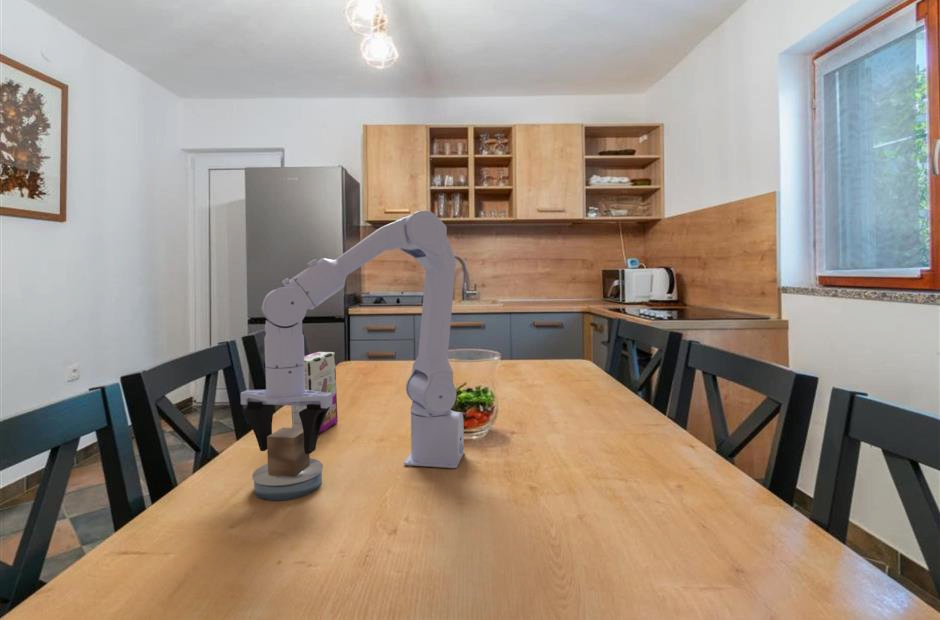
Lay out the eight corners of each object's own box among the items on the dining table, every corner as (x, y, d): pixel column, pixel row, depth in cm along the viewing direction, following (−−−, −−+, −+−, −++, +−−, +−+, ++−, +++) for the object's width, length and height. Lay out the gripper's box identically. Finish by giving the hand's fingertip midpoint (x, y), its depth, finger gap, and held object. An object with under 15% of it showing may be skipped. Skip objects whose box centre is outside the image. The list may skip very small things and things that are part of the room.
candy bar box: (318, 421, 108) (316, 351, 107) (338, 423, 107) (336, 351, 106) (290, 438, 97) (288, 359, 96) (312, 439, 96) (310, 360, 95)
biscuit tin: (334, 476, 79) (333, 459, 78) (303, 506, 68) (302, 486, 68) (277, 473, 80) (276, 456, 80) (238, 501, 70) (237, 482, 70)
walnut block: (309, 464, 76) (308, 428, 76) (295, 476, 72) (294, 437, 71) (284, 463, 77) (282, 427, 76) (268, 474, 72) (266, 436, 72)
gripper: (226, 368, 70) (229, 457, 71) (315, 371, 68) (318, 462, 69) (255, 360, 77) (258, 441, 78) (337, 362, 75) (339, 446, 76)
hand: (287, 450), depth 74 cm, fingers open, 7 cm apart
